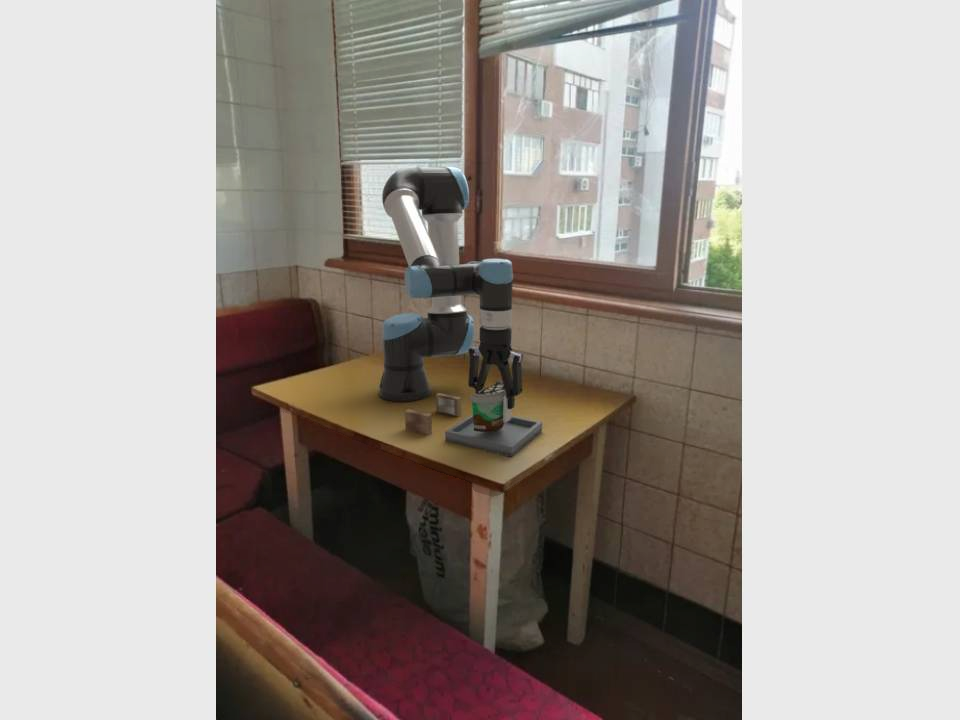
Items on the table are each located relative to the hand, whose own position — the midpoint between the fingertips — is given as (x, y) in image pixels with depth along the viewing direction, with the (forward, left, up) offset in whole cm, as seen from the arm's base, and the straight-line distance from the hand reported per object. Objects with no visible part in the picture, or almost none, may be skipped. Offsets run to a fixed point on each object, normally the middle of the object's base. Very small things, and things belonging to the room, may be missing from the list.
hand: (494, 417), depth 144 cm
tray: (0, 0, -5) cm, 5 cm away
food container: (0, 0, -3) cm, 3 cm away
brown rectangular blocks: (-18, 0, -5) cm, 19 cm away
